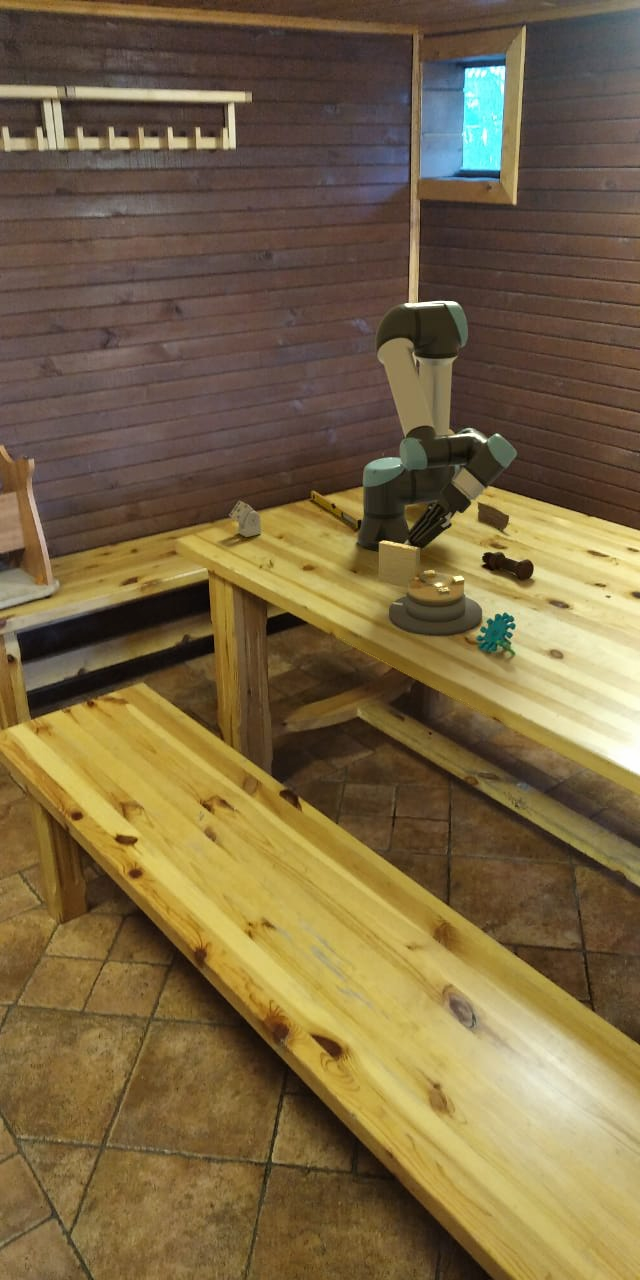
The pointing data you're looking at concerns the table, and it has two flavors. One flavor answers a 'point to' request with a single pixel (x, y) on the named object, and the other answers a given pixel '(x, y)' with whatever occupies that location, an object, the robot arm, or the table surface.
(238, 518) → the mechanical component
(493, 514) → the wood plank
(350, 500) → the table surface
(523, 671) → the table surface
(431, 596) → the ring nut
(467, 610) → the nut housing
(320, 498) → the spirit level
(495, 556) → the bolt
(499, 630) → the teal spiky piece
